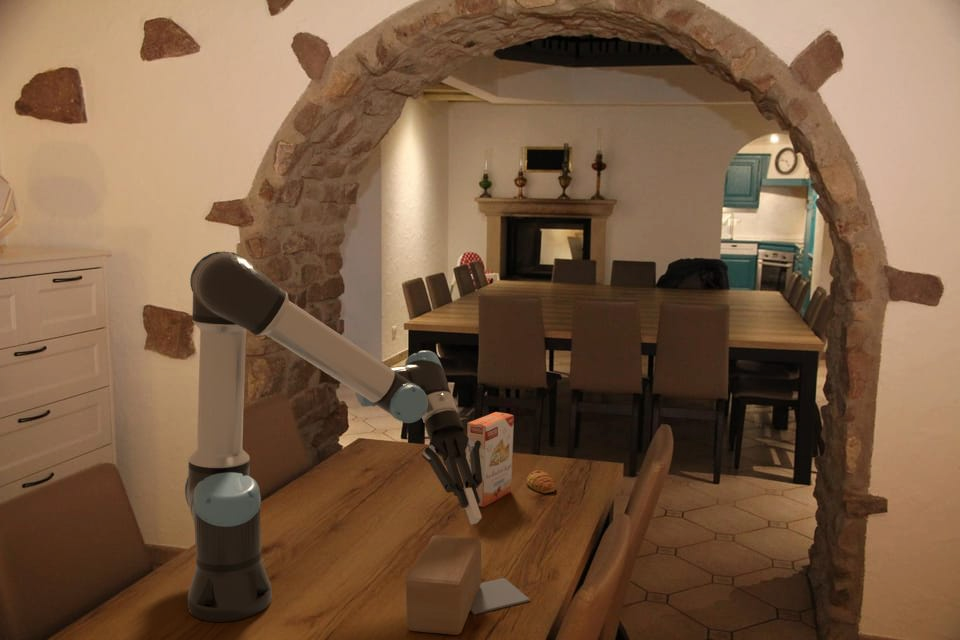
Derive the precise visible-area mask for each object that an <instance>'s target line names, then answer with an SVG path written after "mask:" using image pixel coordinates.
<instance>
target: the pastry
mask: <svg viewBox="0 0 960 640" xmlns="http://www.w3.org/2000/svg"><path fill="white" fill-rule="evenodd" d="M526 483H527V486H529V488H530V489H532V490H534V491H536V492H538V491H539V492H538V493H540V492H541V493H542V494H548V493H552V492H553V493H554V492H555V491H556V490H557V486H556V482H555V479H554V478H553V476H552V475H550V473H547V472H544V471H543V470H534V471H533V472H530V473H529V474H528V476H527V478H526Z"/></svg>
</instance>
